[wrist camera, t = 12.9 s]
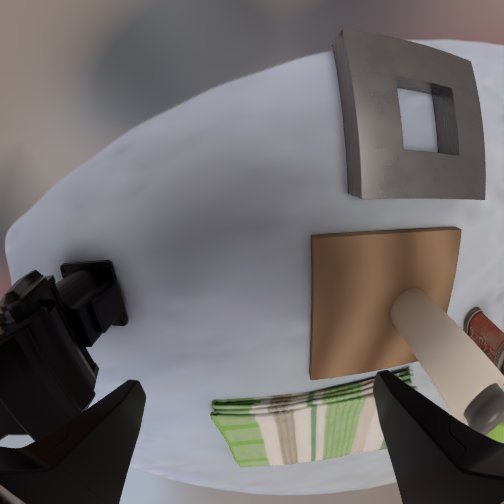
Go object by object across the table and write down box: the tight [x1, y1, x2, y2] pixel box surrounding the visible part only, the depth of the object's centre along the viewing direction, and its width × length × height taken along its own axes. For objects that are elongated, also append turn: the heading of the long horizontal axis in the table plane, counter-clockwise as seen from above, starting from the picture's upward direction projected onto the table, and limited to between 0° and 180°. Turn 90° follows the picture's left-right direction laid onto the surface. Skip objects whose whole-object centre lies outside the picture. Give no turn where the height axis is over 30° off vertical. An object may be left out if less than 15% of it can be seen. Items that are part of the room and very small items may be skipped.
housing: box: [332, 30, 486, 200], centre depth 15 cm, size 12×12×3 cm
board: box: [309, 227, 461, 380], centre depth 21 cm, size 14×14×1 cm
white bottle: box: [390, 288, 504, 435], centre depth 14 cm, size 4×4×14 cm
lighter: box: [463, 307, 504, 385], centre depth 18 cm, size 8×3×10 cm, turn 35°
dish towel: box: [210, 370, 418, 467], centre depth 27 cm, size 17×23×4 cm
